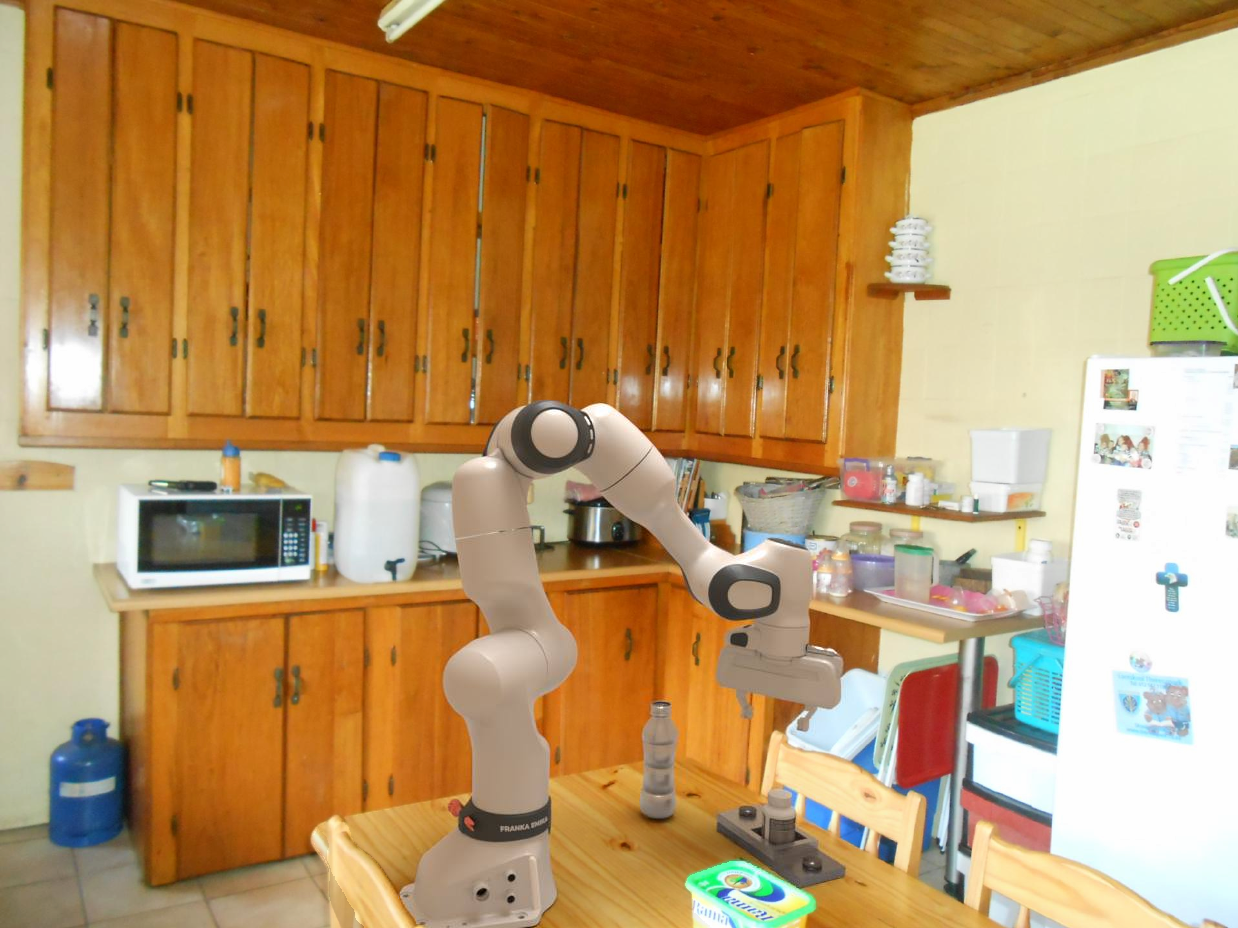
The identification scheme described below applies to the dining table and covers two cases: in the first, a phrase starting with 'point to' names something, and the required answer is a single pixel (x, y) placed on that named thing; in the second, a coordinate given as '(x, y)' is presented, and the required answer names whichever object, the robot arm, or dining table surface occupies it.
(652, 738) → the plastic bottle
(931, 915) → the dining table surface
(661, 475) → the robot arm
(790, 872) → the bottle holder plate
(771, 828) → the pill bottle
